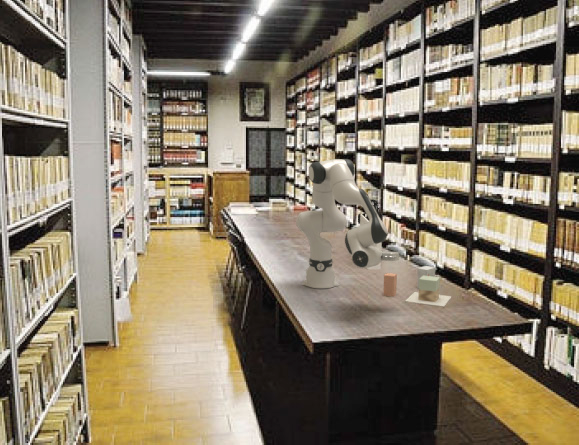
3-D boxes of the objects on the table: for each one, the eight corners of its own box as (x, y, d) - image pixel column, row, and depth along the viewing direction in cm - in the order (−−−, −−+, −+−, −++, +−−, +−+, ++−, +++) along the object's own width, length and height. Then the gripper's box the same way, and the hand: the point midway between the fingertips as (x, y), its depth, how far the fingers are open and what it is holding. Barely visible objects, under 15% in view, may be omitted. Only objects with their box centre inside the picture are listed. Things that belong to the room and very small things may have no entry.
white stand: (380, 269, 326) (382, 222, 322) (367, 269, 326) (368, 222, 322) (371, 257, 361) (372, 214, 357) (359, 256, 361) (360, 214, 357)
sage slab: (418, 289, 262) (419, 279, 261) (422, 285, 269) (423, 275, 268) (435, 291, 259) (436, 281, 258) (439, 287, 266) (439, 277, 265)
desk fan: (383, 254, 370) (385, 201, 365) (357, 254, 370) (358, 201, 365) (376, 246, 397) (378, 197, 392) (352, 246, 396) (353, 197, 391)
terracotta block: (383, 295, 272) (384, 275, 270) (386, 292, 276) (386, 273, 275) (393, 296, 270) (394, 276, 268) (396, 293, 274) (396, 274, 273)
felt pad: (405, 301, 261) (405, 300, 261) (414, 292, 277) (414, 291, 277) (444, 307, 253) (444, 306, 253) (451, 297, 269) (451, 296, 269)
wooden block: (418, 299, 263) (418, 289, 262) (422, 295, 270) (422, 285, 269) (435, 301, 259) (435, 291, 259) (438, 297, 266) (439, 287, 266)
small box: (425, 285, 291) (425, 265, 289) (434, 287, 287) (435, 267, 286) (416, 288, 285) (417, 267, 284) (426, 290, 282) (426, 269, 280)
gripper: (394, 250, 241) (403, 248, 254) (350, 248, 250) (360, 246, 263) (394, 264, 241) (402, 262, 254) (350, 262, 250) (359, 260, 263)
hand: (380, 254), depth 258 cm, fingers open, 8 cm apart
